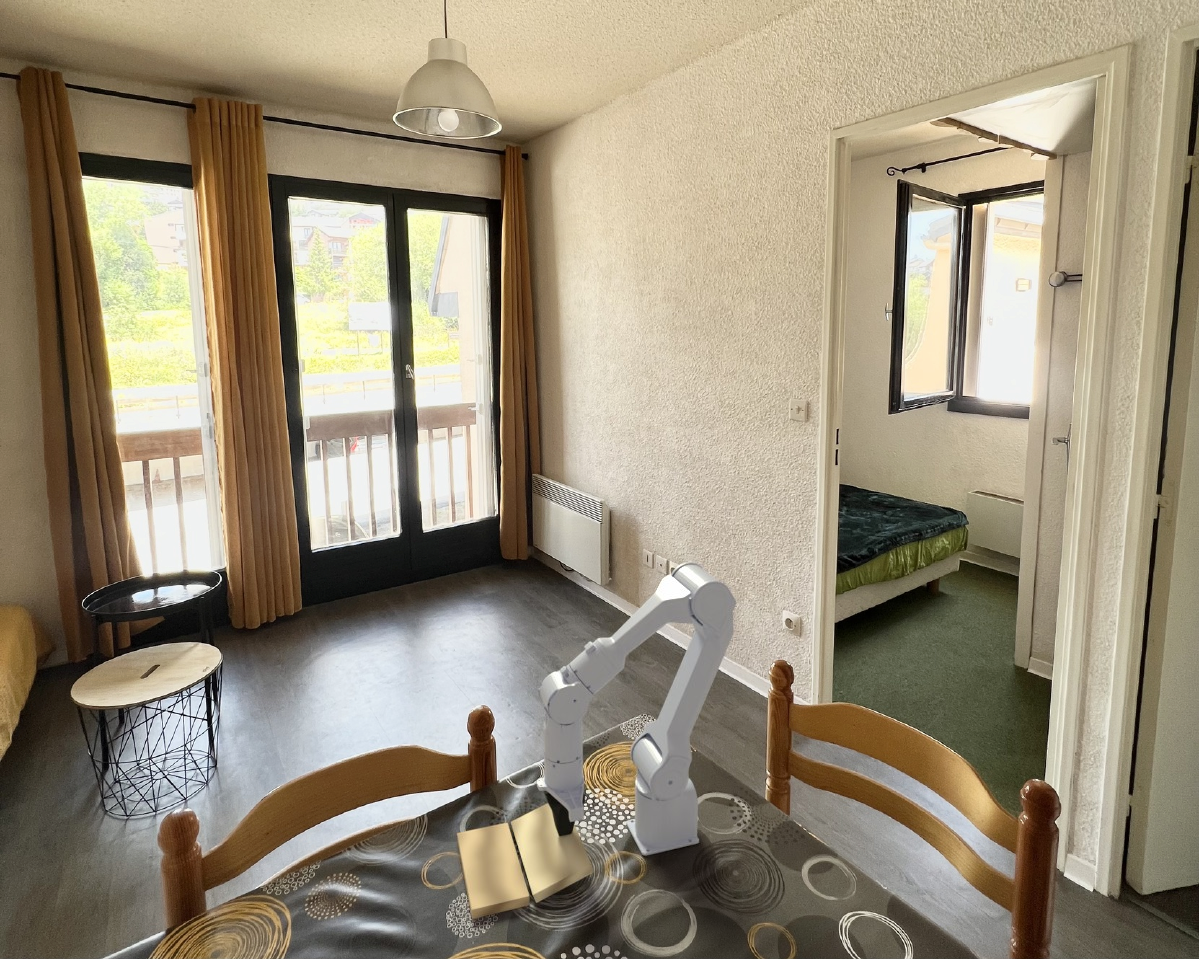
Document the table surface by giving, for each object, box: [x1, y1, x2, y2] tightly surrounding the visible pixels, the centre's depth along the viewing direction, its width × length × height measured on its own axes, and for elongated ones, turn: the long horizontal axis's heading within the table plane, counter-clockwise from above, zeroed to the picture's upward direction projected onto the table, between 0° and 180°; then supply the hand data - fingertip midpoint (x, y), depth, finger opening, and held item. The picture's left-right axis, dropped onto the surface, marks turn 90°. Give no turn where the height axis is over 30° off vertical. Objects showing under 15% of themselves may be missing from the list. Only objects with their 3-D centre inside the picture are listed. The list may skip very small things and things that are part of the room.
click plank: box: [510, 802, 595, 904], centre depth 113 cm, size 9×16×2 cm, turn 16°
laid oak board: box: [456, 822, 530, 920], centre depth 111 cm, size 8×16×2 cm, turn 18°
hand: (564, 832), depth 113 cm, fingers closed, pressing on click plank
